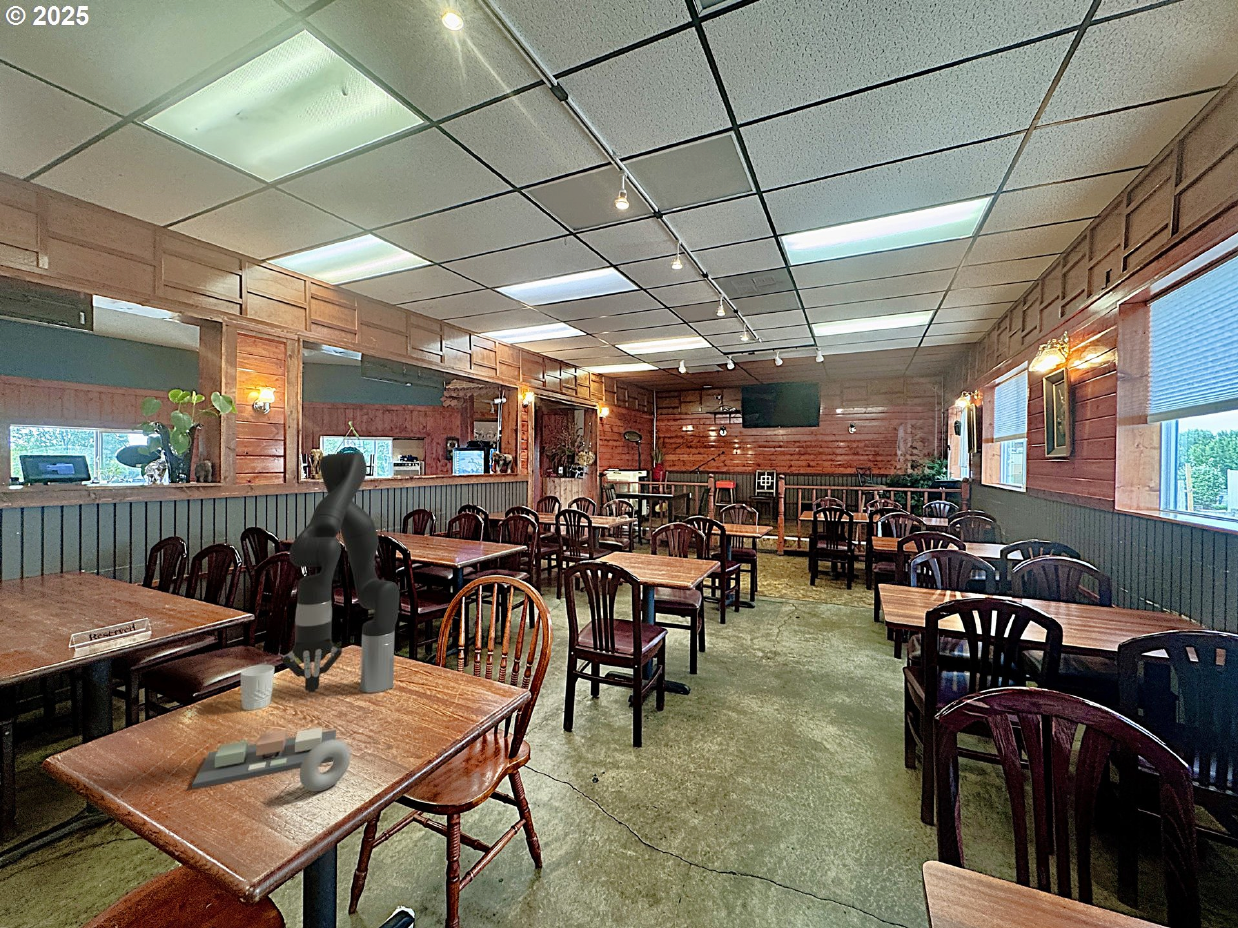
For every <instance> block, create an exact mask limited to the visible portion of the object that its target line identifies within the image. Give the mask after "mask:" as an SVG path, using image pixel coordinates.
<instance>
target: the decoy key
mask: <svg viewBox="0 0 1238 928" xmlns="http://www.w3.org/2000/svg"><path fill="white" fill-rule="evenodd" d="M287 731H288V730H287V729H281V730H275V731H270V732H265V733H260V735H259V737H258V739H257V741H256V742H257V743H256V744H257V745H256V756H257V755H262V754H265V757H264V758H267V757H266V756H268V757H272V756H271V755H274V756H277V755H276V753H277V752H278V751H283V749H284V746H285V742H286V739H287V734H288V733H287Z"/></svg>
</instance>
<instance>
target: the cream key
mask: <svg viewBox="0 0 1238 928" xmlns="http://www.w3.org/2000/svg"><path fill="white" fill-rule="evenodd" d="M322 732H323V727H316V728H310V729H305V730H298V731H297V733H296V736H295V737H296V740H295V752H299V751H301V752H303V751H308V750H312V749H313V748H314V747H316V746H317V745H319V744H321V740H322Z"/></svg>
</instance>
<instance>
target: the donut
mask: <svg viewBox="0 0 1238 928" xmlns="http://www.w3.org/2000/svg"><path fill="white" fill-rule="evenodd" d="M350 750H351V749H350V748H349V746H348V744H347V743H346V742H344V741H343V740H340V739H335V740H334V739H332V740H328V741H324V742H322V743H321V744H319V745H317V746H316V747H314V748H313V749H312V750H311V751H310V752H309V753H308V755H307V756H306V757H305V759H304V761H303V763H302V765H301V768H299V769H300V771H299V781H300V783H301V785H302V786H303V788H305V789H307V790H309V791H310V792H320V791H324V790H327V789H329V788H331V787H333V786H334V785H336V784H337V783H338V782H339V781H340V780H341V779H342V778H343V776H344V775H345V774H346V772H347V771H348V768H349V765H350V763H351V757H352V756H351V754H352V753H351V751H350ZM328 757H332V758H333V761H332V764H331V766H330V767H329V768H328V769H327V770H325V771H324V772H323V771H322V772H319V767H320V765H321V764H322V763H321V762H322V761H323V760H324V759H326V758H328ZM320 763H321V764H320Z"/></svg>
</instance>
